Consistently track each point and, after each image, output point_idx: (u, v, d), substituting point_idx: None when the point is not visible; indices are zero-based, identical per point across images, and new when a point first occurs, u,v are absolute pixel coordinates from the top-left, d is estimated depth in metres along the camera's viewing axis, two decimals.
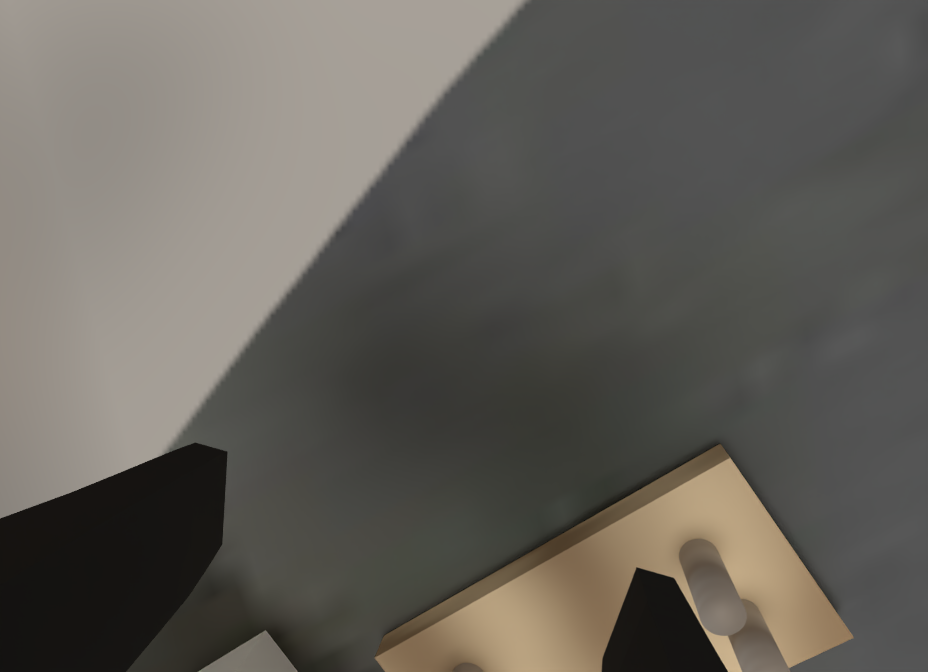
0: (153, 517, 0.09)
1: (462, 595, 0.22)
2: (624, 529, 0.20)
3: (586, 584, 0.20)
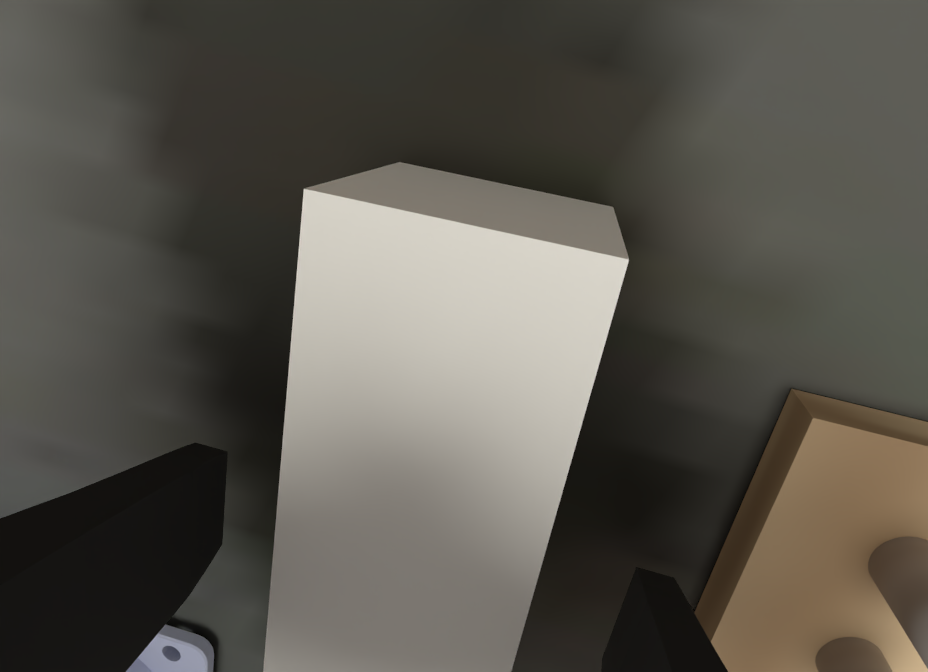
0: (155, 517, 0.09)
1: None
2: None
3: None
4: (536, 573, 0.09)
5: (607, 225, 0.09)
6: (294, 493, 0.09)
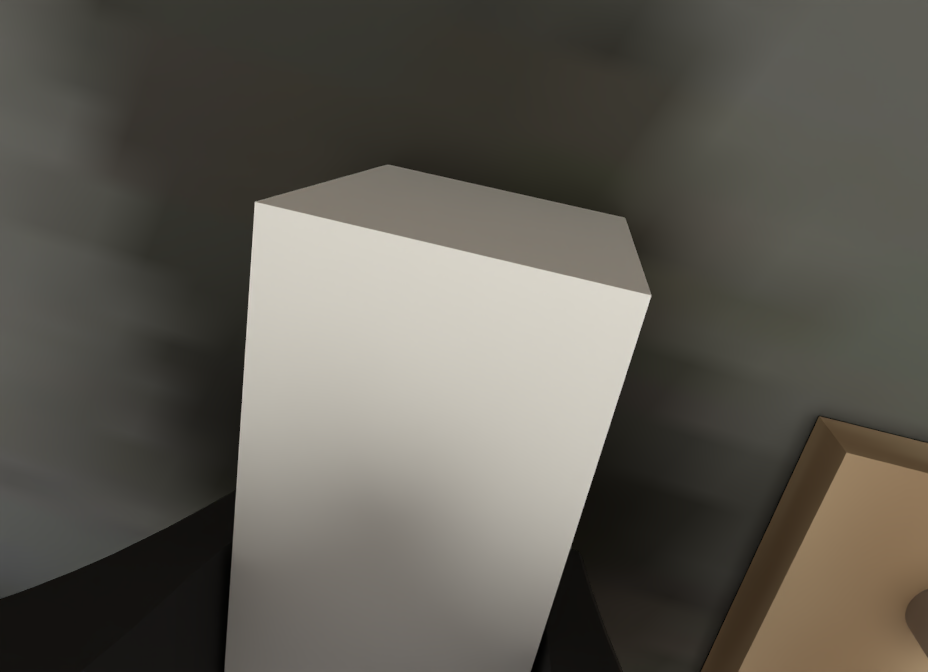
0: None
1: None
2: None
3: None
4: (532, 655, 0.08)
5: (621, 245, 0.08)
6: (251, 554, 0.08)
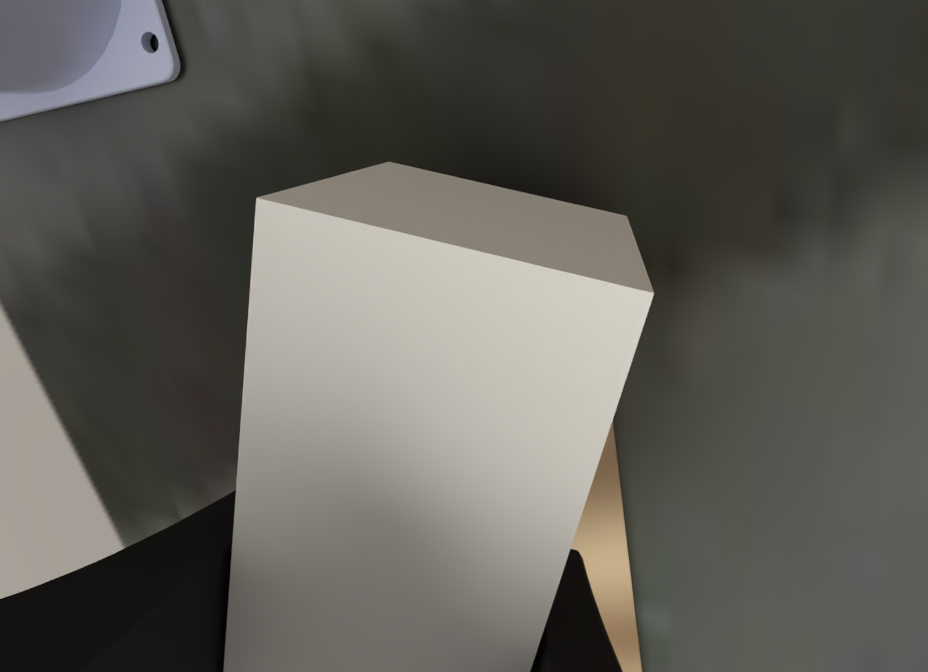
0: None
1: (623, 511, 0.19)
2: None
3: None
4: (532, 654, 0.08)
5: (623, 243, 0.08)
6: (250, 552, 0.08)
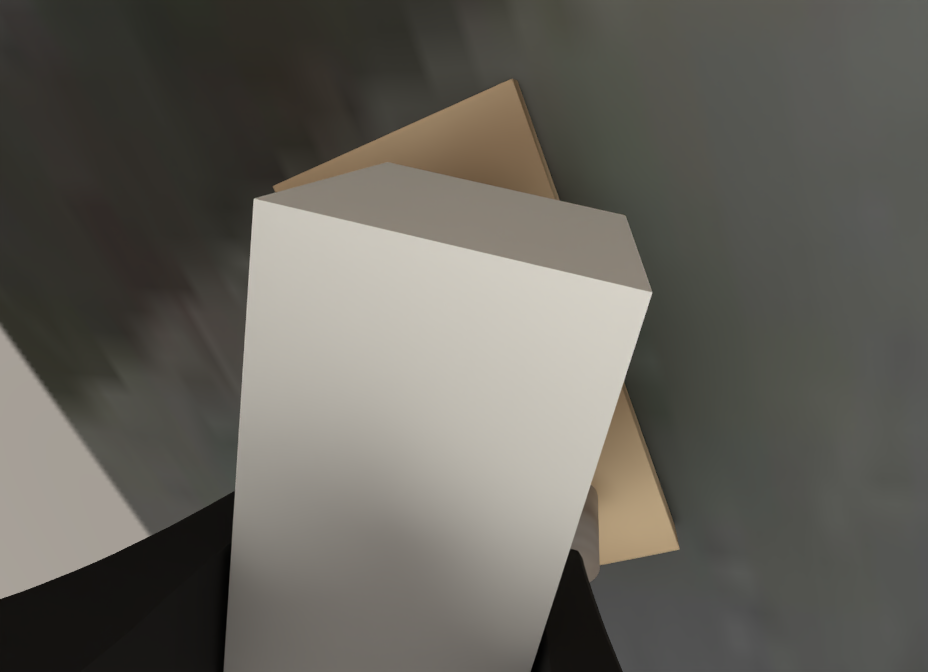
0: None
1: None
2: (627, 438, 0.18)
3: None
4: (532, 654, 0.08)
5: (621, 242, 0.08)
6: (249, 553, 0.08)
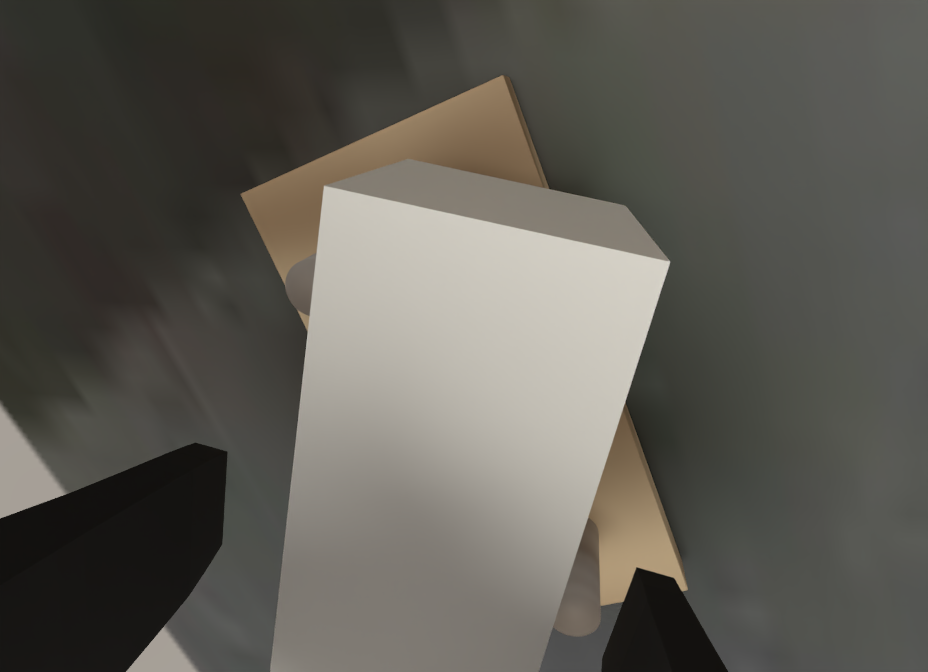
0: (154, 517, 0.09)
1: None
2: (630, 471, 0.16)
3: None
4: (562, 588, 0.09)
5: (631, 226, 0.09)
6: (305, 509, 0.09)
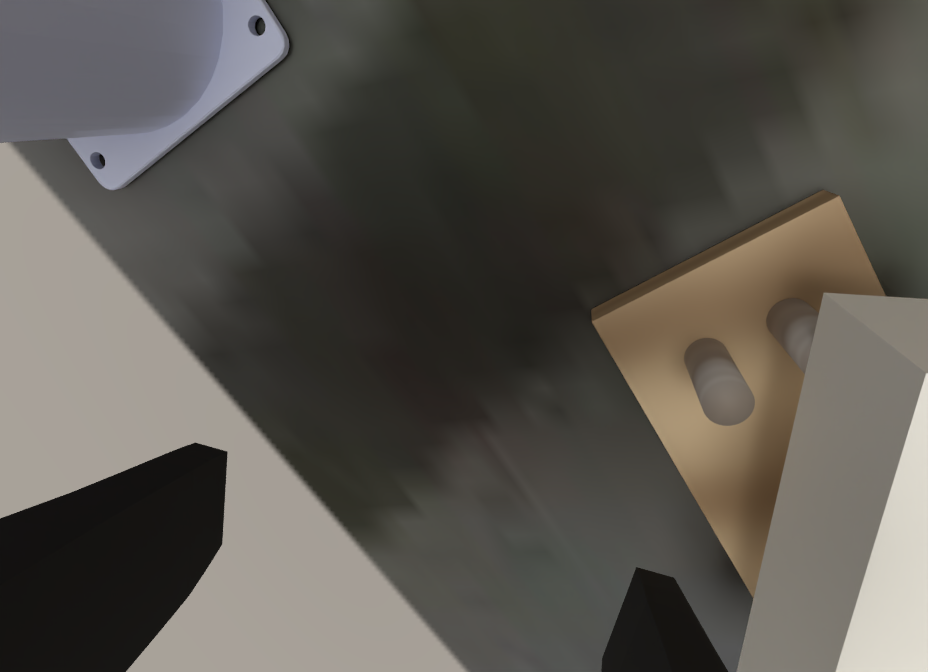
0: (154, 517, 0.09)
1: None
2: None
3: None
4: None
5: None
6: (872, 601, 0.11)
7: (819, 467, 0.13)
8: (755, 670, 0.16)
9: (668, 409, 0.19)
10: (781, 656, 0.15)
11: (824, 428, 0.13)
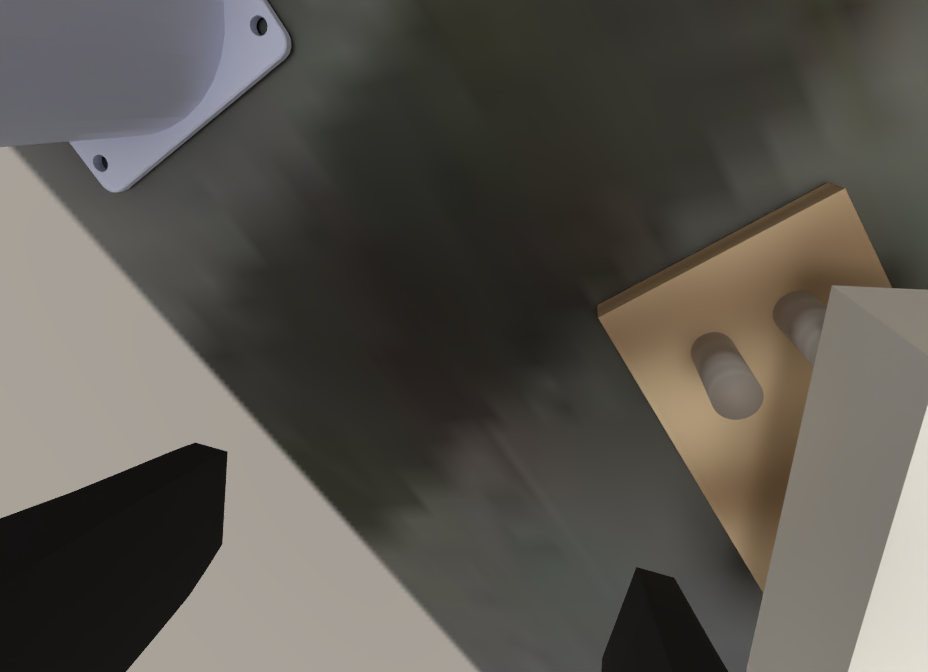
0: (153, 517, 0.09)
1: None
2: None
3: None
4: None
5: None
6: (886, 592, 0.11)
7: (830, 459, 0.13)
8: (767, 663, 0.16)
9: (675, 404, 0.19)
10: (794, 649, 0.15)
11: (834, 421, 0.13)
